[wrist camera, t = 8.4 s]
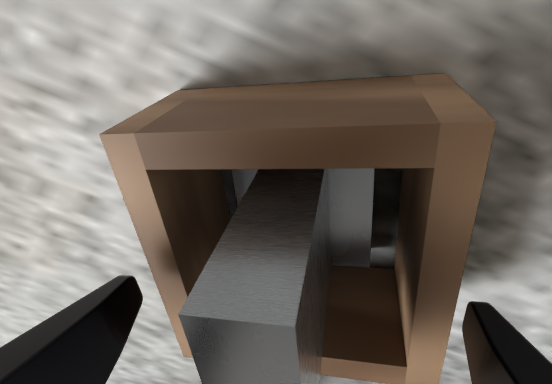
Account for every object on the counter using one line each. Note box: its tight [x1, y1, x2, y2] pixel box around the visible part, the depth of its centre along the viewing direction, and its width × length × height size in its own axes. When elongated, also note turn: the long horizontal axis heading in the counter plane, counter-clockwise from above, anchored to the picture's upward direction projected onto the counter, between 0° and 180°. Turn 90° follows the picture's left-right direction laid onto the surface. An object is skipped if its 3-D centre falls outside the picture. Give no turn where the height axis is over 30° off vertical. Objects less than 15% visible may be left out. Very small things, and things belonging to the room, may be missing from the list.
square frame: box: [99, 73, 497, 384], centre depth 12 cm, size 9×9×4 cm
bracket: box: [178, 168, 374, 384], centre depth 10 cm, size 5×5×8 cm
